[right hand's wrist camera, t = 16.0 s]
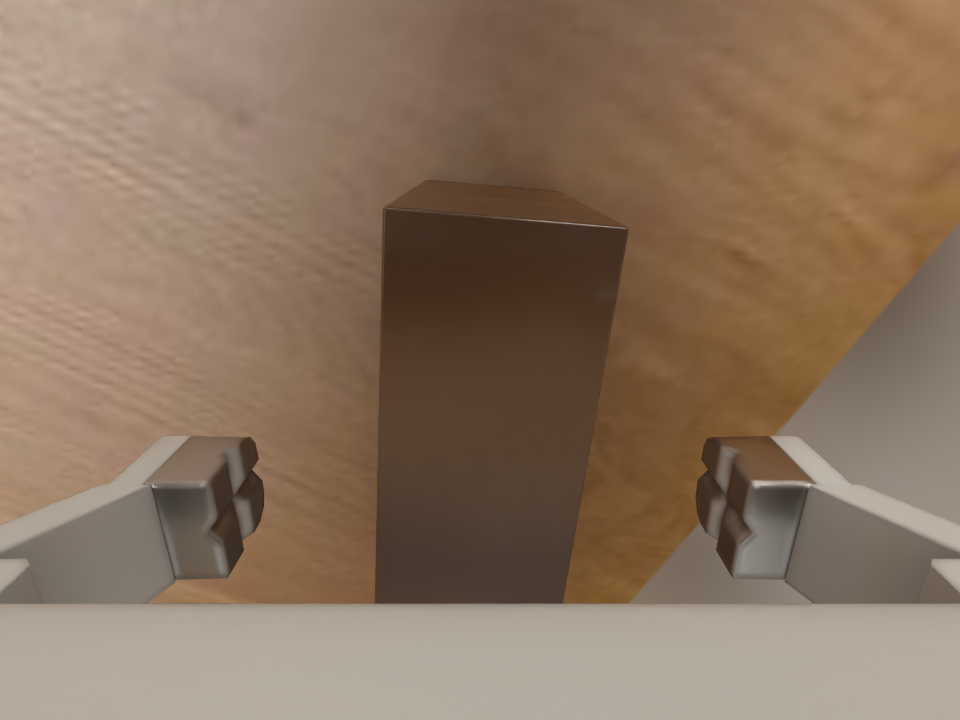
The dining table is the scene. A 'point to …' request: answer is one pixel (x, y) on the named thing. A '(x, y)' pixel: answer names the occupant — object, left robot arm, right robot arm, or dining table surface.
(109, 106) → the dining table surface
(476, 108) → the dining table surface
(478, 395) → the box
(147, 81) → the dining table surface
